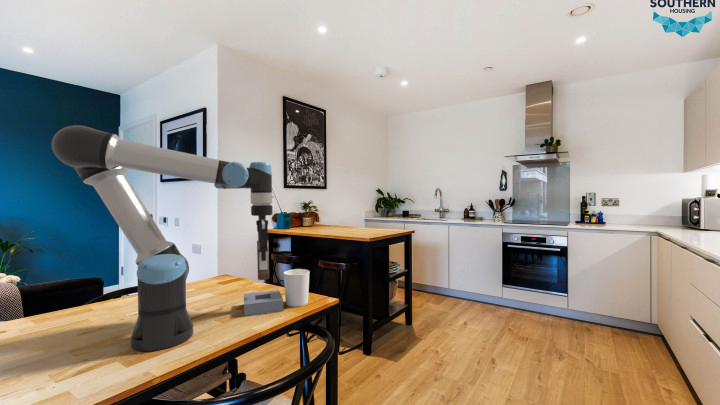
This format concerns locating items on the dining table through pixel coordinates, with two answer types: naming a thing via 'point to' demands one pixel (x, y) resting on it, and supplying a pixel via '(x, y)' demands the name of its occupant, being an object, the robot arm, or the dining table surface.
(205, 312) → the dining table surface
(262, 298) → the socket block
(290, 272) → the candle holder
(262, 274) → the peg
